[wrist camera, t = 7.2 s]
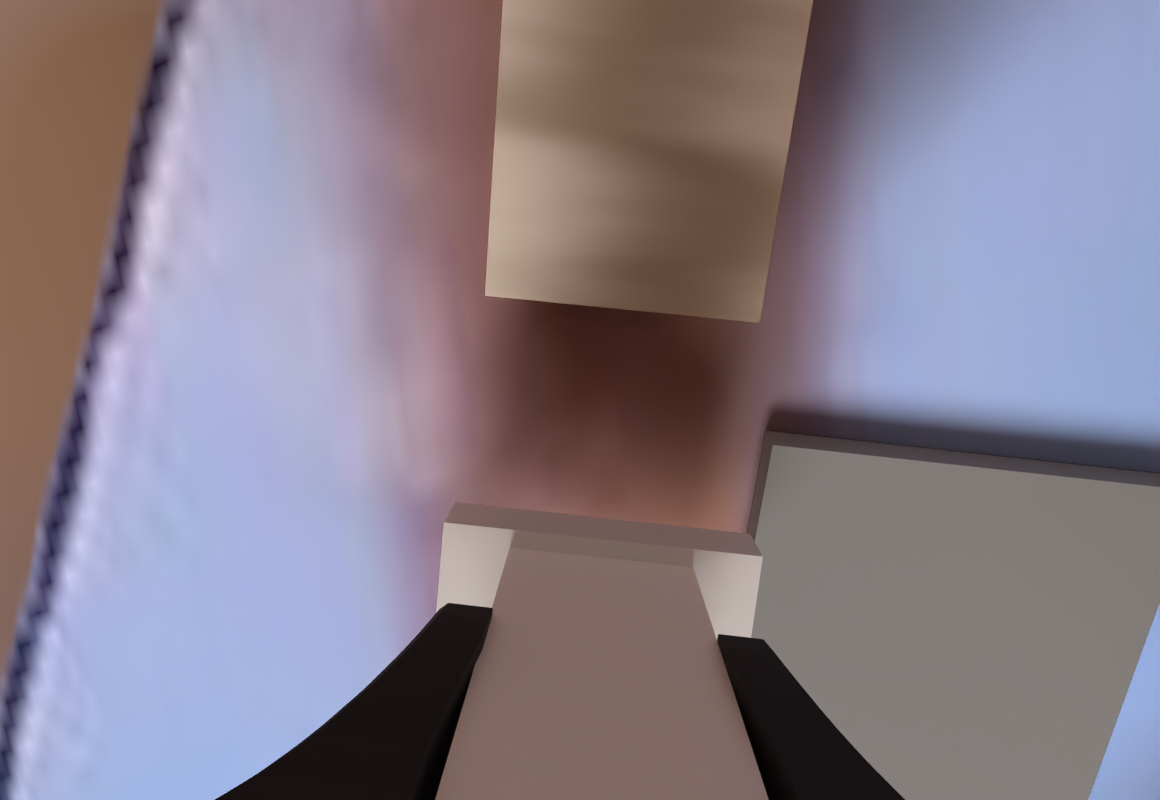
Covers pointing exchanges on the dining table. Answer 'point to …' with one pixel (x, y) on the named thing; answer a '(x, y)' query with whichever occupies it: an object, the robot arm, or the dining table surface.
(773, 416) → the dining table surface
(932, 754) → the slate mat
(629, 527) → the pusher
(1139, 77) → the dining table surface
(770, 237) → the wooden block
